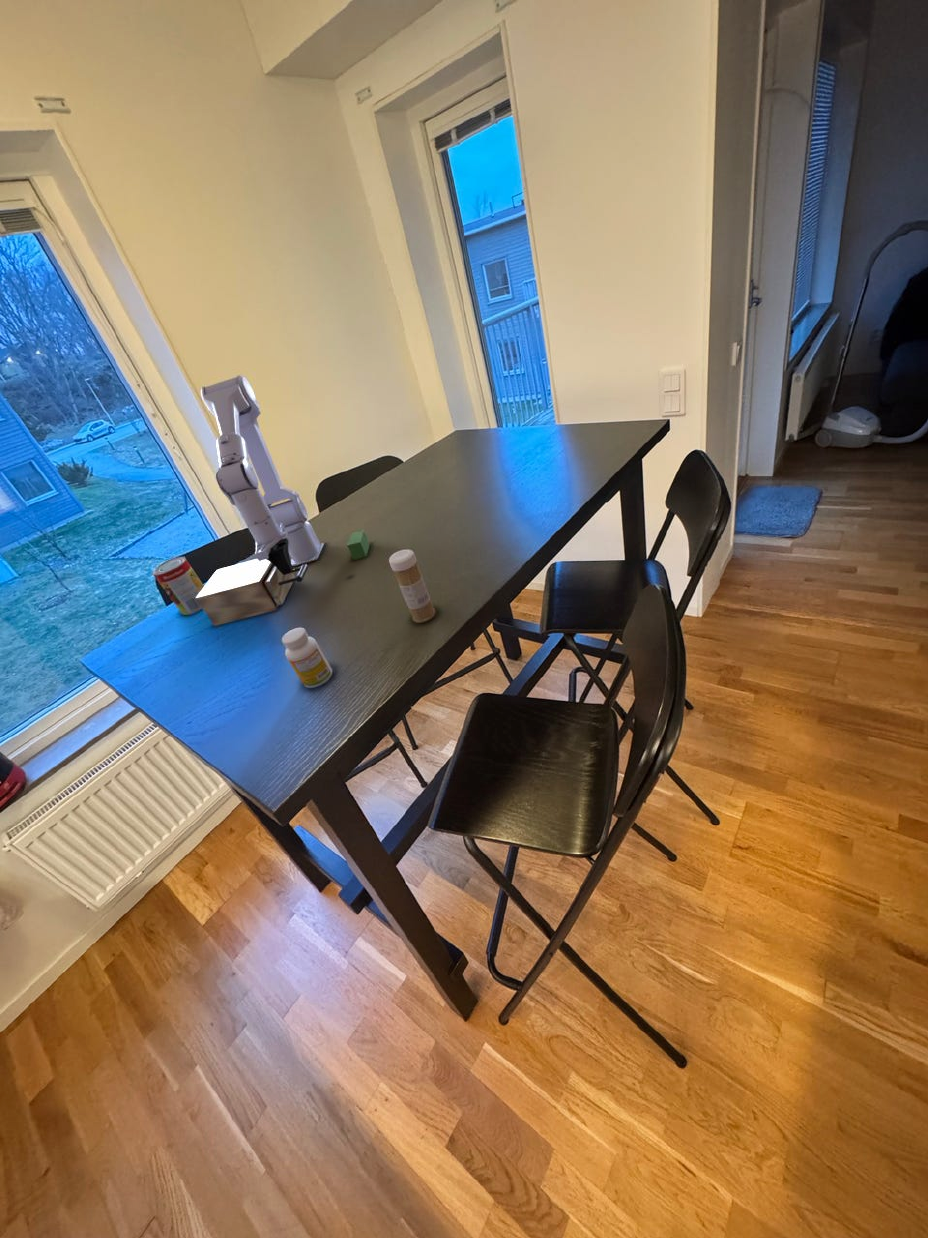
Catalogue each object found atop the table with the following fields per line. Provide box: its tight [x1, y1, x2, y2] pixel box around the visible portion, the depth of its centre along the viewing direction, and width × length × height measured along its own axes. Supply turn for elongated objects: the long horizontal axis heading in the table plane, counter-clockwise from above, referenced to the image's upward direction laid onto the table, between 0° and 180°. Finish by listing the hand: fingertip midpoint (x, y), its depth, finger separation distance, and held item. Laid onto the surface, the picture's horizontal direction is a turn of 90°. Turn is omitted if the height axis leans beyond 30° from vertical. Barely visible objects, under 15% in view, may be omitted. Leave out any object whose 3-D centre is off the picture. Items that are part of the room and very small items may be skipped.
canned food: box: [151, 556, 205, 616], centre depth 119 cm, size 8×8×12 cm
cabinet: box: [195, 558, 280, 627], centre depth 113 cm, size 15×13×8 cm
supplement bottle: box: [281, 627, 333, 689], centre depth 82 cm, size 5×5×10 cm
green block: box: [346, 529, 371, 561], centre depth 122 cm, size 7×3×4 cm, turn 2°
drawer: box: [261, 563, 309, 606], centre depth 113 cm, size 20×12×6 cm, turn 92°
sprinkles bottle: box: [388, 549, 436, 624], centre depth 88 cm, size 5×5×13 cm
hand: (288, 572), depth 111 cm, fingers closed
